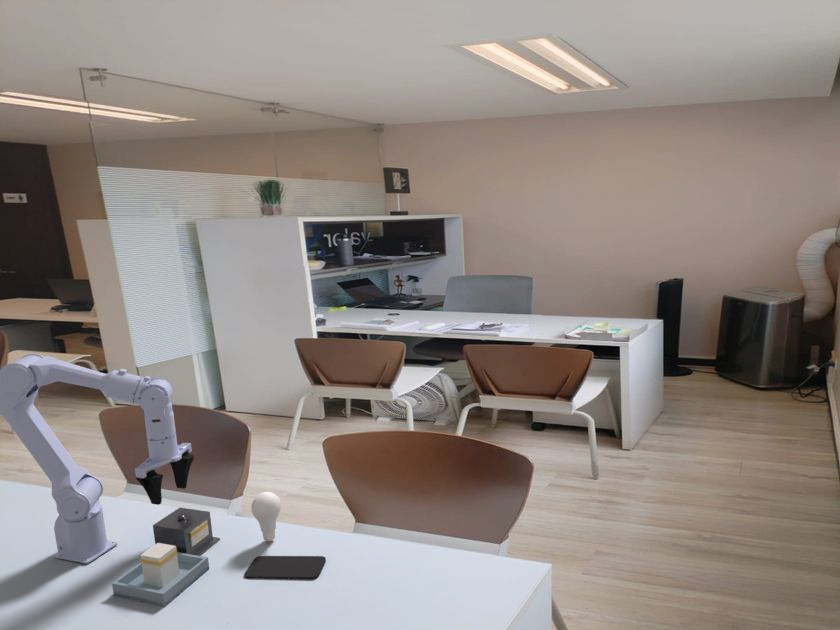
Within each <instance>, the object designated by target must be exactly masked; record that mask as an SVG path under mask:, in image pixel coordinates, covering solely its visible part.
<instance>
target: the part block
mask: <svg viewBox="0 0 840 630" xmlns="http://www.w3.org/2000/svg"><path fill="white" fill-rule="evenodd" d="M139 560H140V563H141V564H142V571H143V578H144V584H148V585H153V586H158V587H164V586H166V585H167V584H168V583H169V582H170V581H172V580H173V579H174V578H175V577H177V576H178V575H179V574H180V573H179V565H178V558H177V550H176V546H174V545H168V544H162V543H157V544H155V543H154V545H152V546H150V547H149V548H148V549H146V550H145V551H144V552H142V553H141V554H140V559H139Z"/></svg>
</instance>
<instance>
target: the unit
mask: <svg viewBox="0 0 840 630" xmlns="http://www.w3.org/2000/svg"><path fill="white" fill-rule="evenodd" d="M211 519H212V518H211V512H210V511H208V510H199V509H194V508H187V507H178V508H176V509H175V510H174V511H172V512H171V513H169V514H167V515H166V516H165V517H164V518H162V519H160V520H159V521H157V522H156V523H154V524H153V525H152V530H153V537H154V545H155V544H157V543H162V544H168V545H174V546H176V550H177V552H180V553H185V554H191V555H197V556H202V555H203V554H204V553H206V552H207V551H208V550H209V549H211V548H212V547H213V546H215V545H216V544H217V543H218V542H220V541H221V538H220V537H217V536H213V527H212V526H213V525H212V520H211Z"/></svg>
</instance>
